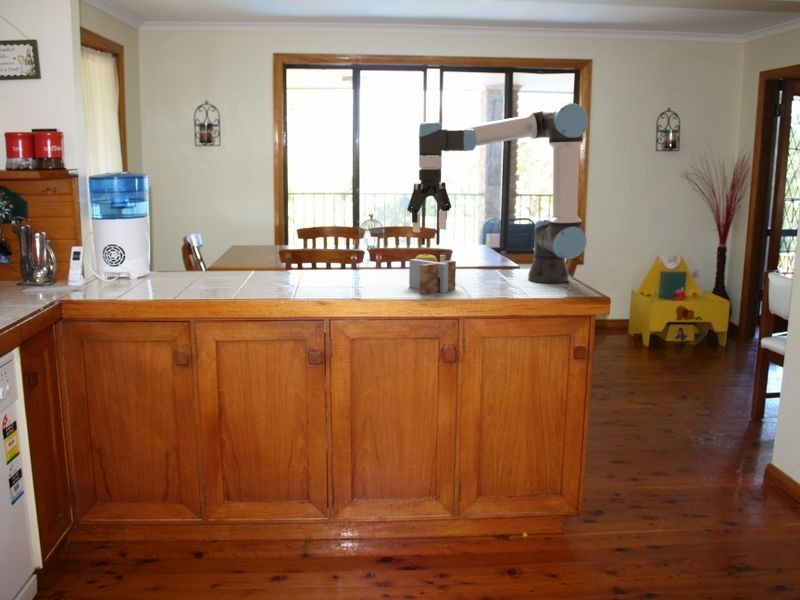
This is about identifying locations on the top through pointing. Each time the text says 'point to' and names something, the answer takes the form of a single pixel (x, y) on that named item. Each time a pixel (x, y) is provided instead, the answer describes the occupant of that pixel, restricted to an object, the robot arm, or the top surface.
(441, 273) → the grey notched arch block
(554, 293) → the top surface
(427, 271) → the notched wooden slab
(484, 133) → the robot arm
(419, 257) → the apple
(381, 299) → the top surface
